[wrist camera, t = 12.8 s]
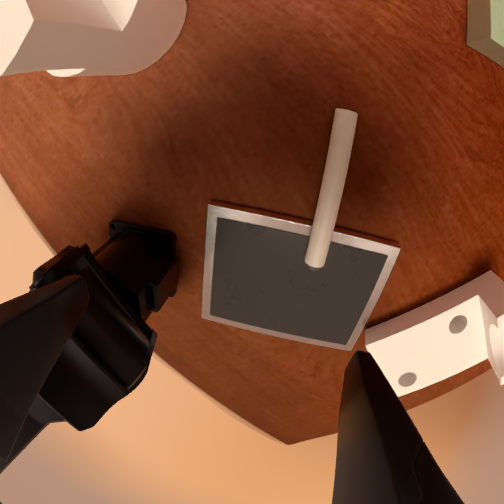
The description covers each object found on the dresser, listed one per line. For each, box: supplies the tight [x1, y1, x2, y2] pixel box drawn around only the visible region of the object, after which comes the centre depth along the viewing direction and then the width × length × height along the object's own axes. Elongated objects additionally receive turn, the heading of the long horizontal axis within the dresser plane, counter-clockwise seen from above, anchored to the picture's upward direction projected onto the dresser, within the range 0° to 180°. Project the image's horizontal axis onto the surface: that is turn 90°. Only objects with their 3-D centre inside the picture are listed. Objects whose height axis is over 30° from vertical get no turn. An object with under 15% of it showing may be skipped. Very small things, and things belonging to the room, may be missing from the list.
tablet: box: [202, 200, 401, 351], centre depth 22 cm, size 14×11×1 cm
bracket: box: [365, 270, 504, 397], centre depth 18 cm, size 13×7×8 cm, turn 125°
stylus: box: [304, 108, 358, 271], centre depth 17 cm, size 1×1×11 cm
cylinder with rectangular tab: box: [0, 0, 187, 77], centre depth 9 cm, size 9×9×12 cm
